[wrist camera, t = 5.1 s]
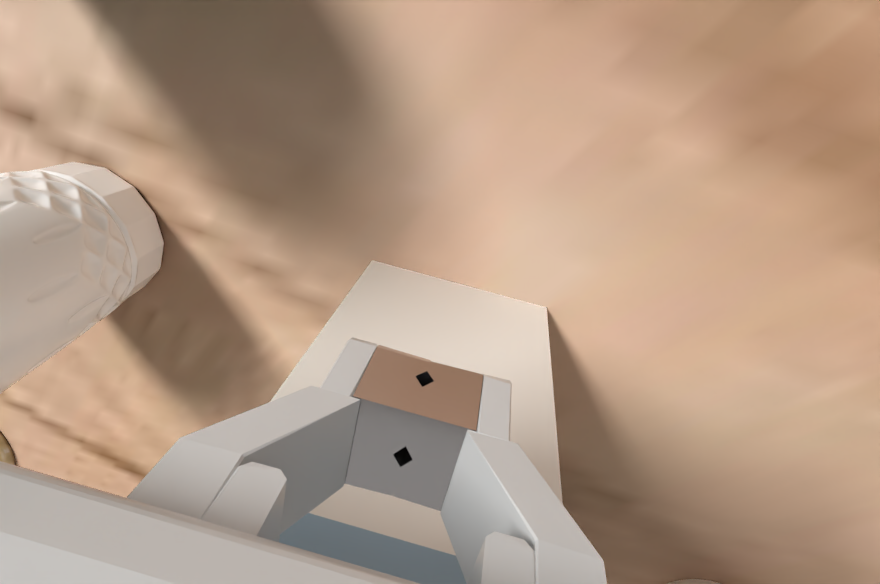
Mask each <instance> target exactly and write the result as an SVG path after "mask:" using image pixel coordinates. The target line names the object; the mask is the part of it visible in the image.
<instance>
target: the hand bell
mask: <svg viewBox="0 0 880 584" xmlns="http://www.w3.org/2000/svg"><path fill="white" fill-rule="evenodd" d="M0 461H2V462H6V463H9V464H13V465H15V458H14V455H13V452H12V449H11V447H10V446H9V444H8V442H7V440H6V439H5V438H4V436H3V435H2V434H1V432H0Z"/></svg>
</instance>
